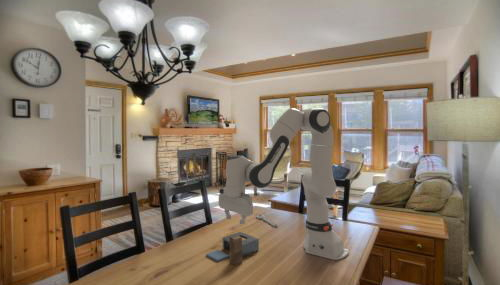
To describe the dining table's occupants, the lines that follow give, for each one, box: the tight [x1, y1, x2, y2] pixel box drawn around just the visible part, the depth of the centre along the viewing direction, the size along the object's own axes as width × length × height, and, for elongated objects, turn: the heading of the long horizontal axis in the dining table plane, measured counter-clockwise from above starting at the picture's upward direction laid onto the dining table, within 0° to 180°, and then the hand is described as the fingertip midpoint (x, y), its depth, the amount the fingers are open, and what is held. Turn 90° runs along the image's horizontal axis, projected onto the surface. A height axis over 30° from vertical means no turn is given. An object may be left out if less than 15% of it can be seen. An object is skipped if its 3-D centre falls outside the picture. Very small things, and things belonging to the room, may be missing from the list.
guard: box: [222, 231, 260, 258], centre depth 144 cm, size 14×12×6 cm
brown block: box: [229, 235, 243, 267], centre depth 130 cm, size 4×4×12 cm
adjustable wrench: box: [255, 214, 279, 228], centre depth 188 cm, size 25×6×2 cm, turn 21°
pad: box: [205, 249, 230, 263], centre depth 136 cm, size 9×7×1 cm
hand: (235, 221), depth 129 cm, fingers open, 8 cm apart
